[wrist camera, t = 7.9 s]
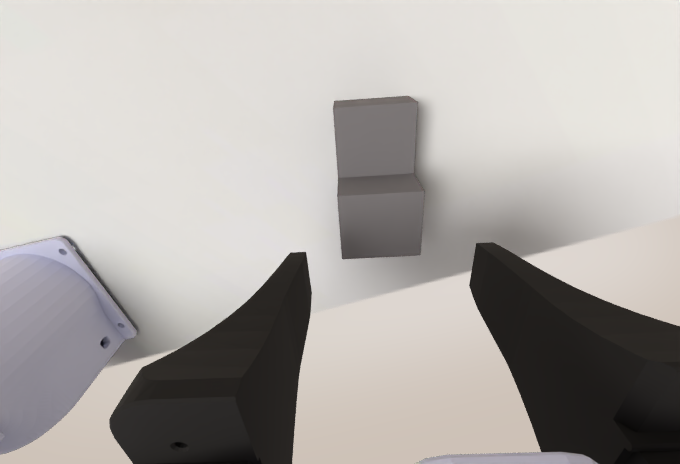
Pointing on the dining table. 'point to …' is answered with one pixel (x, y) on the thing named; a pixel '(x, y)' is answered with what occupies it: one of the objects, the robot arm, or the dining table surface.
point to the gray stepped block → (378, 177)
